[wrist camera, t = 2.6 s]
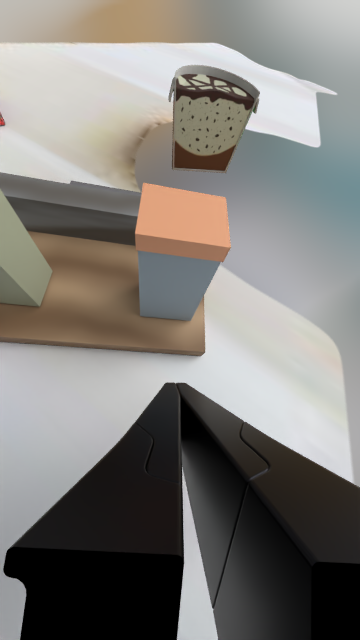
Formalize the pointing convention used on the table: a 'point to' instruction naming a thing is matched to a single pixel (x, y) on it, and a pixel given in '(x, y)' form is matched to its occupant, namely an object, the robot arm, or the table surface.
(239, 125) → the food container
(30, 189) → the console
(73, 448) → the table surface
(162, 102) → the table surface
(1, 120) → the snack box
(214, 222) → the orange-capped grey pillar
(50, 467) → the table surface
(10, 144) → the table surface
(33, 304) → the tall green block
